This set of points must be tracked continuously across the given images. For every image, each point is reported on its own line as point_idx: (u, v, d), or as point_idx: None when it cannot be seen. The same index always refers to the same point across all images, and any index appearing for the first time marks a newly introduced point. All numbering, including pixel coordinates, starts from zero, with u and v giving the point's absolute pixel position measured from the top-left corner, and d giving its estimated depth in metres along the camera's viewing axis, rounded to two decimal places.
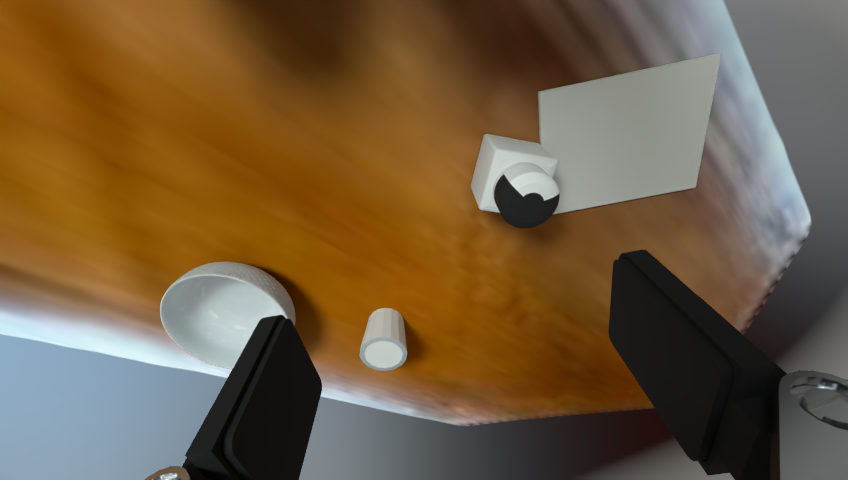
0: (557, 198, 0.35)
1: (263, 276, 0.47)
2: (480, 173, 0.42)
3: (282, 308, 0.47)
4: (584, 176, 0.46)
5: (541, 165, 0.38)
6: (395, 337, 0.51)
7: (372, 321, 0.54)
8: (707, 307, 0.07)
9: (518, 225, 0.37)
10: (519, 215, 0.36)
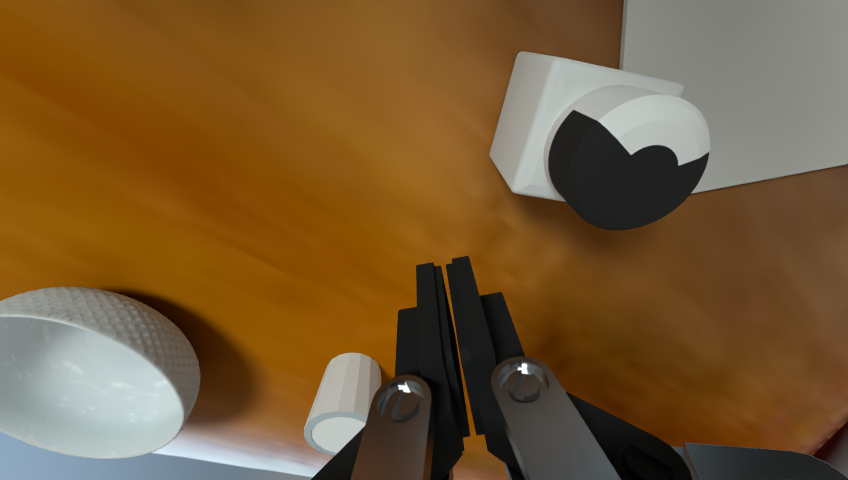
0: (706, 161, 0.15)
1: (127, 313, 0.27)
2: (512, 124, 0.22)
3: (159, 369, 0.27)
4: None
5: None
6: (362, 409, 0.31)
7: (328, 376, 0.34)
8: (479, 305, 0.09)
9: (607, 224, 0.16)
10: (615, 201, 0.15)
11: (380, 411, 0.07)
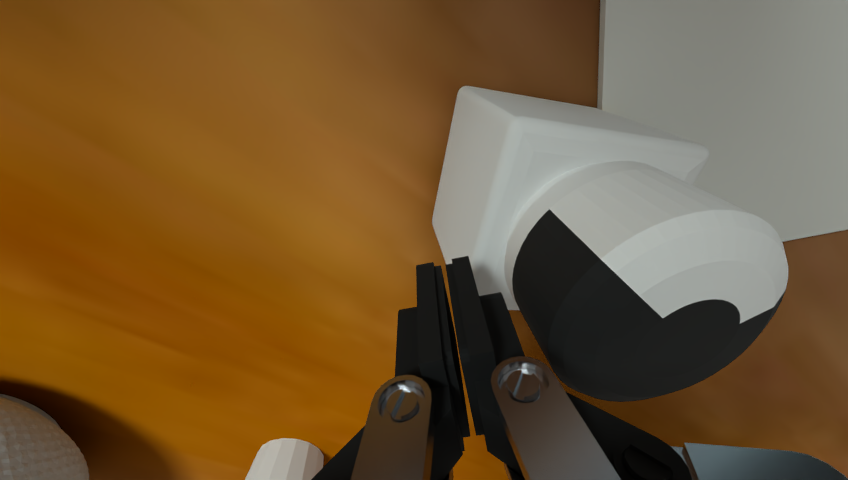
0: (778, 303, 0.09)
1: None
2: (456, 195, 0.15)
3: None
4: None
5: (660, 169, 0.11)
6: None
7: (252, 474, 0.28)
8: (479, 305, 0.09)
9: (615, 399, 0.10)
10: (631, 379, 0.09)
11: (380, 411, 0.07)
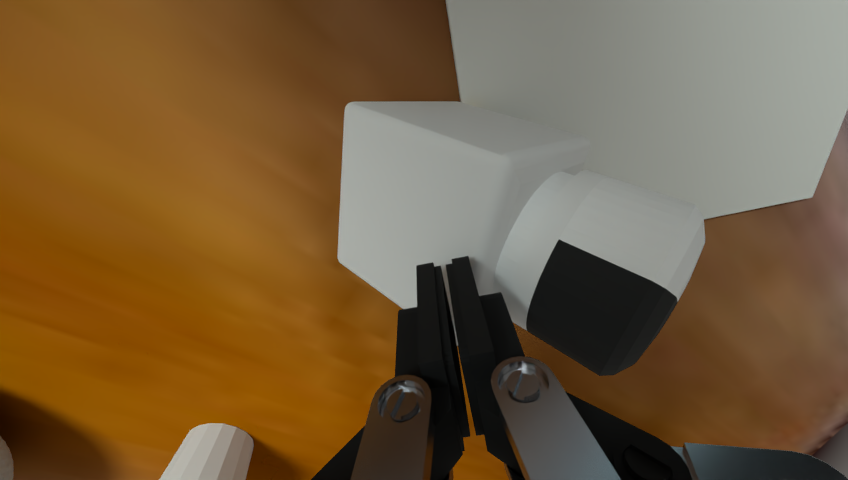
0: None
1: None
2: (396, 234, 0.13)
3: None
4: None
5: (574, 165, 0.13)
6: None
7: (175, 458, 0.29)
8: (479, 305, 0.09)
9: None
10: None
11: (380, 411, 0.07)
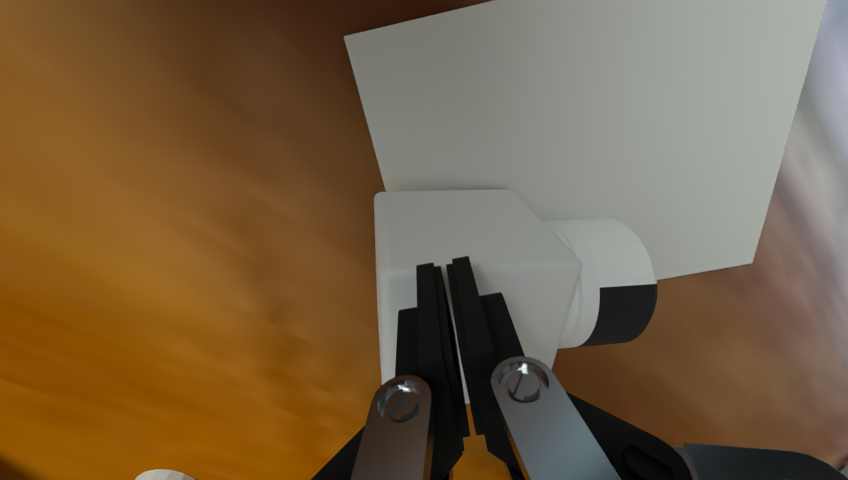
0: None
1: None
2: None
3: None
4: None
5: None
6: None
7: None
8: (479, 305, 0.09)
9: None
10: None
11: (380, 411, 0.07)
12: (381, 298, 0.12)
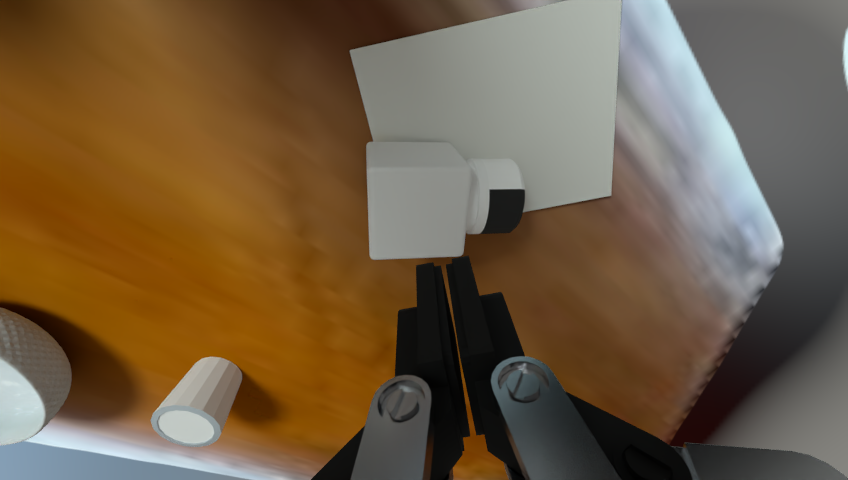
0: None
1: None
2: (419, 221, 0.25)
3: (15, 367, 0.33)
4: None
5: None
6: (198, 404, 0.36)
7: (185, 377, 0.40)
8: (479, 305, 0.09)
9: None
10: None
11: (380, 411, 0.07)
12: (367, 184, 0.24)
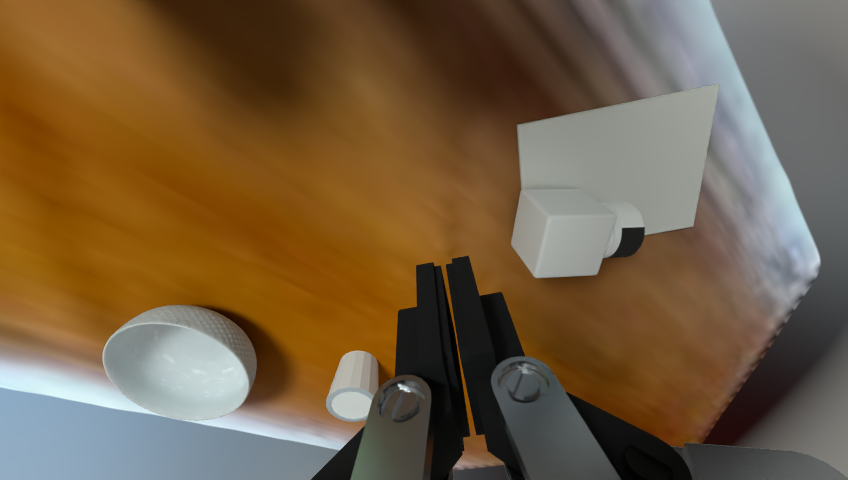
0: None
1: (218, 322, 0.43)
2: (574, 251, 0.36)
3: (238, 357, 0.43)
4: None
5: None
6: (365, 387, 0.46)
7: (342, 366, 0.50)
8: (479, 305, 0.09)
9: None
10: None
11: (380, 411, 0.07)
12: (545, 226, 0.34)
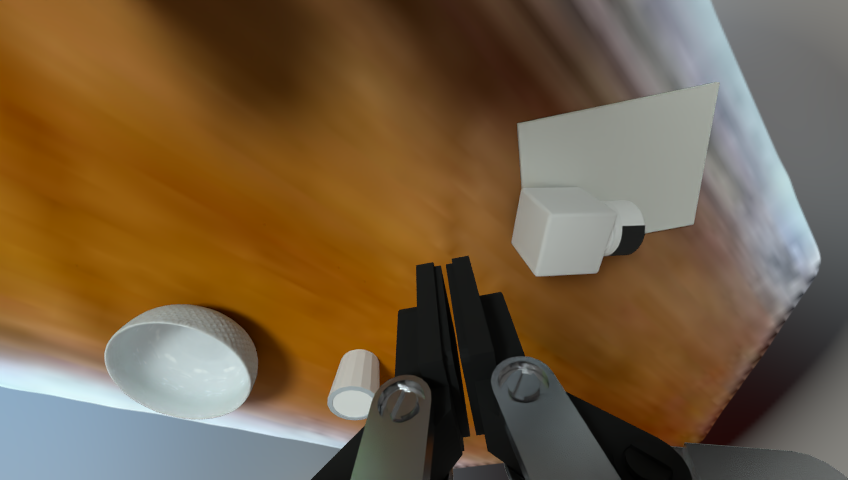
0: None
1: (219, 321, 0.43)
2: (574, 249, 0.36)
3: (239, 356, 0.43)
4: None
5: None
6: (366, 385, 0.47)
7: (343, 365, 0.50)
8: (479, 305, 0.09)
9: None
10: None
11: (380, 411, 0.07)
12: (546, 225, 0.34)
